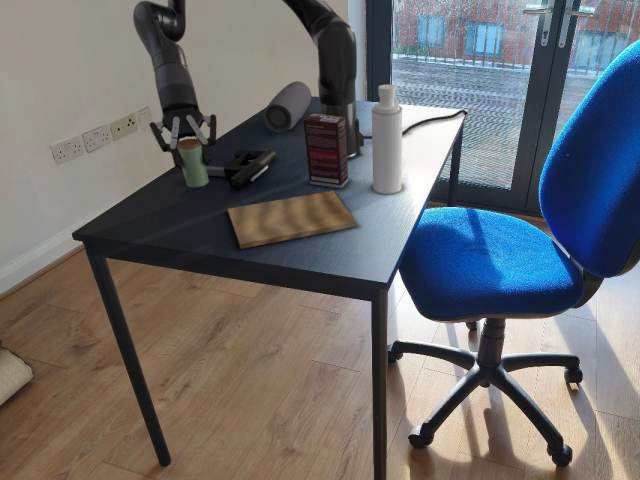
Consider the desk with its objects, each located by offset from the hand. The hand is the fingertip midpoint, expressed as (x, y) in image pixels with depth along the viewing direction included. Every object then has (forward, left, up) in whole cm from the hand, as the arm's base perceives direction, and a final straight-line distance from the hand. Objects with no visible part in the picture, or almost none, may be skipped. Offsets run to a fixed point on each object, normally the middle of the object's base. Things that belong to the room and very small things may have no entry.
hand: (194, 165), depth 117 cm
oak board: (-17, +11, -11) cm, 23 cm away
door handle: (-10, -19, -11) cm, 24 cm away
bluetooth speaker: (-31, -48, -11) cm, 58 cm away
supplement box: (-30, -4, -11) cm, 32 cm away
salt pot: (0, -2, -5) cm, 5 cm away
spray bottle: (-42, +4, -11) cm, 43 cm away
